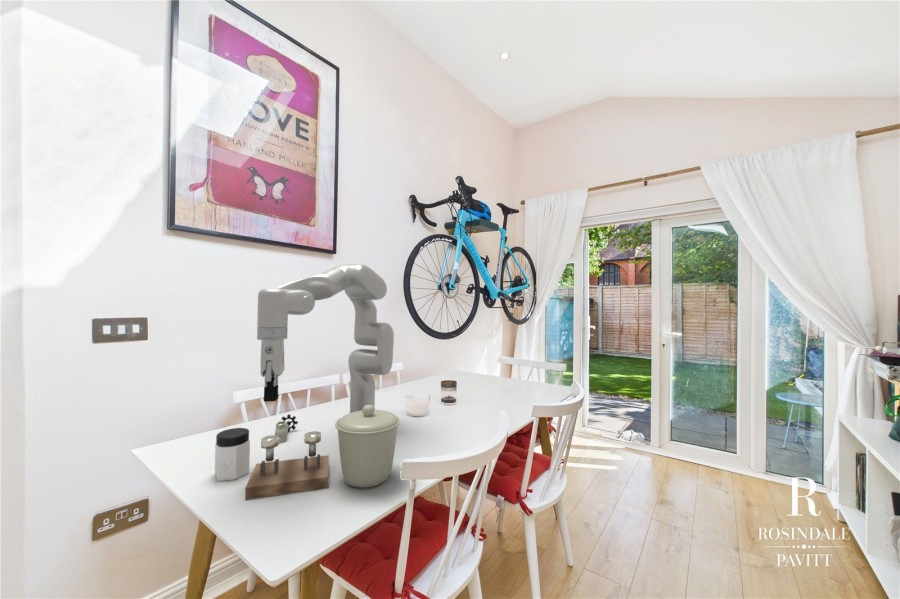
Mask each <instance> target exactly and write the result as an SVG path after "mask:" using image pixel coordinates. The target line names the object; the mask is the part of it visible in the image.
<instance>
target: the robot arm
mask: <svg viewBox="0 0 900 599" xmlns="http://www.w3.org/2000/svg"><path fill="white" fill-rule="evenodd" d="M342 291H344V293H345V295H346V297H348V298H349V300H350V301H351V303H352V304H353V307H354V308H353V309H354V313H355V314H354V315H355V316H354V326H353V328H354V329H353V331H354V332H353V338H354V339H353V340H354V342H355V343H356V344H357V345H359V346H365V347H367V346H368V347H376V348H377V349H370V348H369V349H368V348H357V349H354V350H353V351H351V352H350V354H349V356H348V364H347V365H348V369H349V377H350V389H349V390H350V394H349V399H350V400H349V413H352V412H355V411H361V410H362V409H363V407H364V406H365V405H373V406H374V408H375V404H376V403H375V402H376V401H375V399H376V396H375V395H376V394H375V393H376V382H375V379H374V376H373V375H375V376H377V375H378V376H379V375H380V376H385V375H388V374H390V372H391V370H392V367H393V360H394V344H395V342H394V341H395V334H394V330H393V327H392V326H391V325H390V324H389V323H387V322H378V320H377V319H378V318H377V314H378V311H377V310H378V309H377V307H376V306H377V305H375V303H374V301H379V300H382V299H384V298H385V296H386V295H387V292H388V287H387V283H386V281H385V280H384V278H382V277H381V276H380V275H379V274H378V273H377V272H376V271H374V269H372V268H370V267H369V266H368V265H366V264H363V263H353V264H352V263H351V264H346V263H345V264H339V265H336V266H334V267H332V268H330V269H327V270H325V271H323V272H321V273H319V274H315V275H311V276H309V277H308V276H307V277H305V278H302V279H298V280H294V281H290V282H288V283H285V284H283V285H279V286H278V287H275V288H273V289H272V288H264V289H263V288H262V289H261V290H259V291H258V294H257V295H258V296H257V318H256V319H257V321H256V323H257V324H256V326H257V327H256V340H258V341H261V343H260V376H261V377H263V378H264V387H263V401H264V402H267V403H268V402H277V401H278V399H279V377H280V376H281V375H282V374H283V373H284V371H285V340H287V339H288V328H289V326H288V322H289V320H288V319H289V315H291V316H293V315H294V316H302V315H308V314H309V313H311V312H312V311H313V310H314V307H315V305H316V301H323V300H327V299H330V298H332V297H334V296H335V295H337V294H339V293H341V292H342ZM375 409H376V408H375Z"/></svg>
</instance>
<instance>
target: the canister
mask: <svg viewBox="0 0 900 599" xmlns="http://www.w3.org/2000/svg"><path fill="white" fill-rule="evenodd" d="M400 424H401V419H400V418H399V416H397V415H395V414H394V413H392V412H390V411H386V410H382V409H376V408H374V406H373V405H365V406H364V407H363V409H362V410H361V411H355V412H352V413H350V412H349V413H346V414H344V415H343V416H342V417H340V418H338V419H337V420H336V421H335V424H334V427H335V429H336V430H337V434H338V435H337V437H338V438H337V439H338V446H339V459H340V465H341V473H342V477H343V479H344V481H345V482H346V483H347V484H348V485H350V486H351V487H355V488H361V489H364V488H365V489H366V488H373V487H376V486H378V485H382V484H383V483H384V482H385V481H387V479H388V478H389V477H390V475H391V473H392V468H393V463H394V457H395V449H396V443H397V433H398V426H399V425H400Z"/></svg>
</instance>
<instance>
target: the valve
mask: <svg viewBox="0 0 900 599" xmlns="http://www.w3.org/2000/svg"><path fill="white" fill-rule="evenodd" d="M296 418H297V417H296V416H295V415H293V416H292V417H291V414H290V413H289V414H287V415H286V416H282V417H281V420H282V421H278V422H276V423H275V430H274V435H277V436H279V444H281V443H286V442H287V438H288V436H287V435H288V433H289V432H290V431H291V429H292V430H293V431H294V430H296V428H297V426H296V425H298V423H299V421H297V420H295V419H296ZM287 420H288V421H287ZM290 420H291V421H290Z"/></svg>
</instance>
